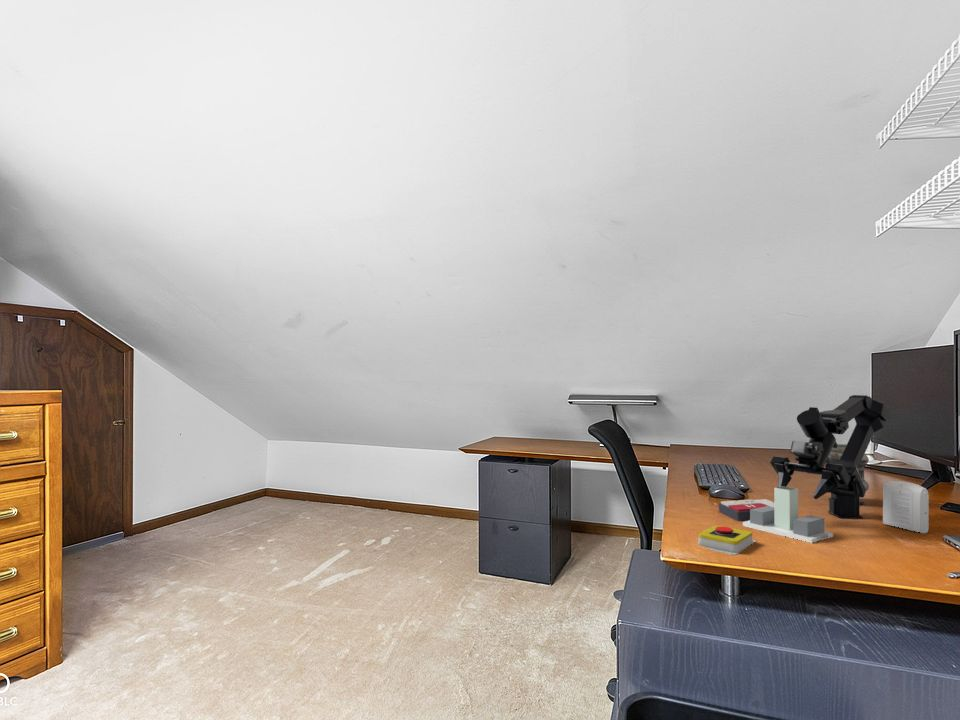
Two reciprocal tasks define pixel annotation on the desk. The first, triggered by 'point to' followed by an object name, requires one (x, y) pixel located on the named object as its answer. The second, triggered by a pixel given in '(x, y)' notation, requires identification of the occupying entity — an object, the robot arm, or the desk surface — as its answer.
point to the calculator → (742, 508)
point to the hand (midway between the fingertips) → (796, 494)
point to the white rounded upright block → (906, 506)
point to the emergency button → (725, 539)
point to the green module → (785, 506)
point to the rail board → (802, 529)
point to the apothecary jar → (837, 454)
